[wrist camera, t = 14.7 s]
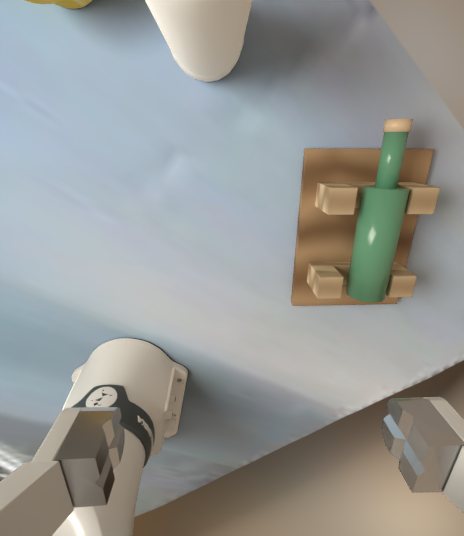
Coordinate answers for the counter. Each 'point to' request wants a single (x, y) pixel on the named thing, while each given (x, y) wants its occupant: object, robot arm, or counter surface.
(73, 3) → the plant pot
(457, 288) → the counter surface
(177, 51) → the bottle
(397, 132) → the bottle
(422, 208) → the bottle rest
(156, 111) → the counter surface
